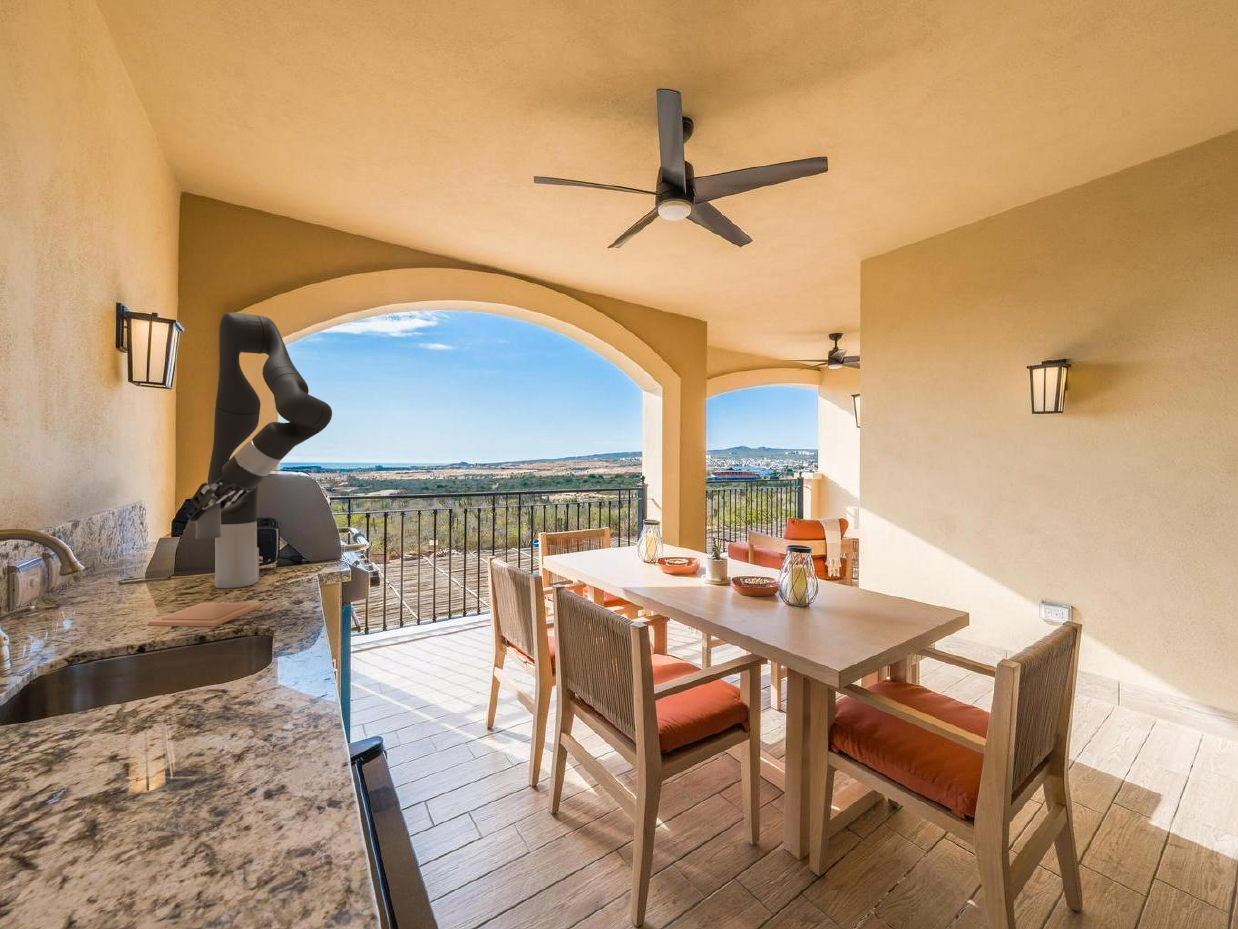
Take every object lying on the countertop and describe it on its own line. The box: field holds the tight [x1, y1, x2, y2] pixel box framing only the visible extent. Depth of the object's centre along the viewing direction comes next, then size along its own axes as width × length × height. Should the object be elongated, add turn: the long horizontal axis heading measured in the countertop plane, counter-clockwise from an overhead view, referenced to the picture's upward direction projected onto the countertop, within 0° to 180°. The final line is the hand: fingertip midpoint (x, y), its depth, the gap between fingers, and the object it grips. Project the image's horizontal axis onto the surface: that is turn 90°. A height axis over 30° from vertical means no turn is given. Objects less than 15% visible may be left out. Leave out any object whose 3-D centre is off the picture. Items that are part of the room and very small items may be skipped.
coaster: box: [147, 601, 263, 627], centre depth 115 cm, size 14×14×1 cm
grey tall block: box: [195, 494, 222, 540], centre depth 115 cm, size 4×4×11 cm
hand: (199, 516), depth 115 cm, fingers closed on grey tall block, 4 cm apart
